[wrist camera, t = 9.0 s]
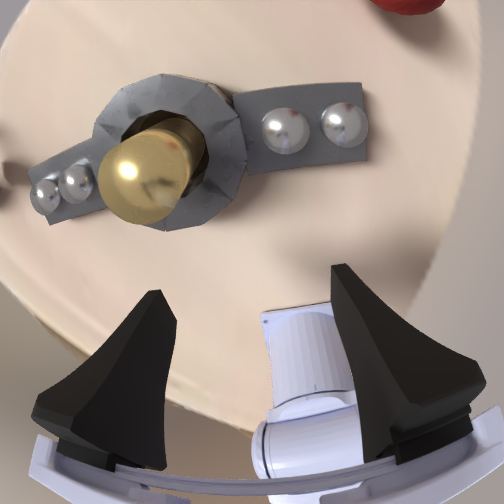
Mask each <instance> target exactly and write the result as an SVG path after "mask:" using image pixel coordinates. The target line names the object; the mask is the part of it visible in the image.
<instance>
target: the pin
mask: <svg viewBox="0 0 504 504" xmlns="http://www.w3.org/2000/svg"><path fill="white" fill-rule="evenodd" d="M203 154H204V139H203V136H202V134H201V132H200V130H199V129H198V128H197V127H196V126H195V125H194V124H193V123H191V122H190V121H187V120H185V119H181V118H170V119H166V120H164V121H162V122H160V123H158V124H155V125H154V126H152V127H150V128H148V129H146V130H144V131H142V132H140V133H138V134H136V135H134V136H133V137H131V138H129V139H127V140H125V141H124V142H122V143H120V144H118V145H117V146H115V147H114V148H112V149H111V150H110V151H109V152H108V153H107V154H106V156H105V157H104V159H103V160H102V162H101V165H100V168H99V172H98V186H99V191H100V194H101V196H102V199H103V201H104V202H105V204H106V205H107V207H108V208H109V209H110V210H111V211H112V212H113V213H114V214H115V215H116V216H118V217H119V218H121V219H123V220H125V221H127V222H130V223H133V224H139V225H146V224H152V223H155V222H158V221H160V220H162V219H164V218H165V217H166V216H168V215H169V214H170V213H171V211H172V210H173V209H174V207H175V205H176V204H177V202H178V200H179V198H180V196H181V194H182V193H183V191H184V189H185V187H186V185H187V184H188V182H189V180H190V178H191V176H192V175H193V173H194V171H195V169H196V168H197V166H198V164H199V163H200V161H201V159H202V157H203Z"/></svg>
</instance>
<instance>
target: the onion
mask: <svg viewBox="0 0 504 504" xmlns="http://www.w3.org/2000/svg"><path fill="white" fill-rule="evenodd" d="M371 1H372V2H374V3H376V4H377V5H379V6H380V7H382V8H383V9H385V10H387V11H391V12H394V13H398V14H401V15H420V14H426V13H429V12H431V11H433V10H434V9H436V8H438V7H440V6H441V5H442V4H443V3H444V1H445V0H371Z"/></svg>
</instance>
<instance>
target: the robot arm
mask: <svg viewBox="0 0 504 504" xmlns="http://www.w3.org/2000/svg"><path fill="white" fill-rule="evenodd" d="M260 320H261V324H262V328H263V333H264V337H265V341H266V345H267V349H268V353H269V357H270V361H271V377H272V395H273V409H270V410H267V420H266V421H262V422H261V423H260V424H259V425H258V427H257V429H256V430H255V432H254V434H253V438H252V460H253V465H254V469H255V471H256V474H257V475H258V477H259V478H260V479H211V478H197V477H186V476H178V475H170V474H163V473H158V472H152V471H146V470H141V469H137V468H142V469H145V468H146V469H151V470H158V471H162V470H164V469H165V468H166V467H167V462H166V454H165V443H164V404H165V390H166V384H167V378H168V374H169V369H170V364H171V359H172V355H173V350H174V345H175V339H176V327H177V320H176V318H175V316H174V314H173V312H172V311H171V309H170V307H169V305H168V303H167V301H166V299H165V297H164V295H163V293H162V291H161V289H160V290H151V291H148V292H147V293H146V294H145V295H144V296H143V298H142V299H141V300H140V301H139V302H138V304H137V305H136V306H135V307H134V308H133V310H132V311H131V312H130V313H129V315H128V316H127V317H126V318H125V319H124V321H123V322H122V323H121V324H120V326H119V327H118V328H117V329H116V330H115V331H114V332H113V334H112V335H111V336H110V337H109V338H108V339H107V340H106V342H105V343H104V344H103V345H102V346H101V347H100V348H99V349H98V350H97V351H96V352H95V353H94V354H93V355H92V356H91V357H90V358H89V359H88V360H86V361H85V362H84V363H83V364H82V365H81V366H79V367H78V368H77V369H76V370H75V371H73V372H72V373H71V374H70V375H68V376H67V377H66V378H65V379H63V380H61V381H60V382H58V383H57V384H55V385H54V386H52V387H50V388H49V389H47V390H45V391H44V392H42V393H40V394H39V395H38V397H37V400H36V403H35V405H34V408H33V412H32V414H31V418H32V419H33V421H35V422H36V423H37V424H39V425H40V426H41V427H43V428H45V429H46V430H47V431H49V432H51V433H52V434H54V435H55V436H57V437H59V442H56V441H54V440H52V439H50V438H47V437H45V436H43V435H41V434H38V437H37V440H36V444H35V448H34V452H33V456H32V460H31V464H30V470H29V476H31V477H32V478H33V479H35V480H37V481H39V482H40V483H42V484H43V485H45V486H46V487H48V488H49V489H51V490H52V491H54V492H56V493H57V494H59V495H60V496H62V497H63V498H65V499H66V500H68V501H70V502H71V503H73V504H190V501H191V500H190V499H188V498H182V497H177V496H172V495H168V494H163V493H158V492H153V491H150V489H149V487H148V486H151V487H156V488H162V489H168V490H174V491H181V492H188V493H197V494H208V495H224V496H268V497H269V501H270V503H272V504H442V503H444V502H445V501H447V500H449V499H451V498H452V497H454V496H455V495H457V494H459V493H460V492H462V491H464V490H465V489H467V488H468V487H470V486H471V485H473V484H474V483H476V482H477V481H479V480H480V479H482V478H483V477H485V476H486V475H488V474H489V473H490V472H492V471H493V470H495V469H496V468H497V467H499V466H500V465H501V464H503V463H504V418H503V415H502V412H501V410H500V407H499V405H498V404H496V405H494V406H493V407H491V408H489V409H488V410H486V411H484V412H483V413H481V414H479V415H477V416H476V417H474V418H473V419H471V420H470V417H469V413H471V407H470V405H469V404H470V403H471V402H472V400H474V399H475V398H476V397H477V396H478V395H479V393H481V392H482V390H483V389H484V388H485V386H486V380H485V378H484V375H483V373H482V371H481V369H480V367H479V365H478V363H477V362H476V361H475V360H472V359H470V358H468V357H466V356H463V355H461V354H459V353H457V352H455V351H452V350H451V349H449V348H447V347H445V346H443V345H441V344H440V343H438V342H436V341H435V340H433V339H431V338H430V337H428V336H426V335H425V334H424V333H422V332H420V331H419V330H417V329H416V328H414V327H413V326H412V325H410V324H409V323H408V322H406V321H405V320H404V319H403V318H401V317H400V316H399V315H398V314H397V313H395V312H394V311H393V310H392V309H391V308H390V307H389V306H387V305H386V304H385V303H384V302H383V301H382V300H381V299H380V298H379V297H378V296H377V295H376V294H375V293H374V292H373V291H372V290H371V289H370V288H369V287H368V286H367V285H366V284H365V283H364V282H363V281H362V280H361V279H360V278H359V277H358V276H357V275H356V274H355V273H354V271H353V270H352V269H351V268H350V267H349V266H348V265H347V264H346V263H344V264H338V265H332V266H331V302H328V303H322V304H316V305H310V306H304V307H297V308H291V309H284V310H277V311H269V312H263V313H261V314H260ZM348 362H349V363H348ZM349 365H350V367H349ZM350 369H351V371H350ZM351 372H352V375H351ZM352 377H353V379H352ZM353 382H354V383H353Z"/></svg>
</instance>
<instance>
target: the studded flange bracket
mask: <svg viewBox="0 0 504 504" xmlns="http://www.w3.org/2000/svg"><path fill="white" fill-rule="evenodd" d="M232 97H233V102H234V104H233V103H232V102H231V101H230V100H229V99H228V98H227V96H226V95H225V94H224V93H223V92H222V91H221V90H220V89H219V88H218V87H217V86H216V85H215V84H213V83H209V82H206V81H202V80H198V79H193V78H189V77H185V76H180V75H174V74H158V75H155V76H153V77H150V78H147V79H144V80H141V81H139V82H136V83H134V84H131V85H128V86H126V87H124V88H121V89H120V90H119V91H118V92H117V94H116V95H115V96H114V97H113V98H112V100H111V101H110V102H109V103H108V105H107V106H106V107H105V109H104V110H103V111H102V112H101V114H100V115H99V116H98V118H97V119H96V122H95V123H94V129H93V135H92V138H90V139H88V140H86V141H84V142H82V143H79V144H77V145H75V146H73V147H71V148H69V149H67V150H65V151H63V152H61V153H59V154H57V155H55V156H53V157H51V158H50V159H48V160H46V161H44V162H42V163H41V164H39V165H37V166H36V167H34V168H32V169H31V170H29V171H27V173H28V176H29V179H30V181H31V184H32V186H33V187H32V189H31V192H30V199H31V203H32V205H33V207H34V209H35V210H36V211H37V212H38V213H40V214H41V215H45V217H46V219H47V221H48V223H49V225H53V224H56V223H59V222H62V221H65V220H68V219H71V218H74V217H77V216H80V215H84V214H87V213H90V212H93V211H97V210H100V209H103V208H107V205H106V204H105V202H104V201H103V199H102V196H101V194H100V191H99V186H98V172H99V168H100V165H101V162H102V160H103V159H104V157H105V156H106V154H107V153H108V152H109V151H110V150H111V149H112V148H114V147H115V146H117V145H118V144H120V143H122V142H124V141H125V140H127V139H129V138H131V137H133V136H134V135H136V134H138V133H139V129H140V126H141V125H142V124H143V123H144V122H145V121H146V120H147V118H148V117H149V116H150V115H151V114H152V113H153V112H155V111H158V110H165V111H169V112H173V113H177V114H181V115H185V116H187V117H188V118H189V119H190V120H191V121H192V122H193V123H194V124H195V125H196V126H197V127H198V128H199V129H200V131H201V132H202V133H203V134H204V136H205V141H206V145H207V149H208V153H209V157H210V160H209V163H208V166H207V169H206V170H205V171H204V172H203V173H202V174H200V175H199V176H198V177H197V178H196V179H195V180H192V181H189V182H188V184H187V185H186V187H185V189H184V191H183V193H182V194H181V196H180V198H179V200H178V202H177V204H176V205H175V207H174V209H173V210H172V211H171V213H170V214H169V215H168V216H166V217H165V218H164V219H162V220H160V221H158V222H155V223H152V224H146V225H144V226H147V227H151V228H154V229H157V230H161V231H164V232H165V230H166V232H167V231H173V230H178V229H183V228H189V227H194V226H200V225H202V224H204V223H206V222H207V221H208V220H209V219H211V218H212V217H213V216H214V215H215V214H217V213H218V212H219V211H220V210H222V209H223V208H224V207H225V206H227V205H228V204H229V203H230V202H231V201H232V200H233V199H234V197H235V194H236V191H237V188H238V186H239V183H240V180H241V178H242V175H243V172H244V170H245V167H246V166H247V171H248V175H253V174H259V173H265V172H271V171H278V170H285V169H292V168H299V167H307V166H315V165H324V164H333V163H343V162H354V161H366V160H367V147H366V136H367V133H368V129H369V124H368V119H367V117H366V115H365V113H364V102H363V92H362V84H361V83H359V82H334V83H315V84H302V85H291V86H282V87H274V88H267V89H260V90H253V91H247V92H242V93H236V94H233V95H232Z"/></svg>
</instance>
